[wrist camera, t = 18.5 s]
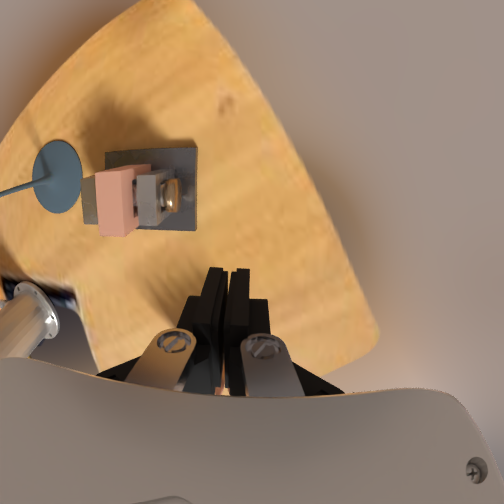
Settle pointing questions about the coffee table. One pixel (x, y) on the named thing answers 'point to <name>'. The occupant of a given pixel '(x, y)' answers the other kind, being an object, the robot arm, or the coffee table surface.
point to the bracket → (152, 187)
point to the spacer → (117, 199)
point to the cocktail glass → (54, 177)
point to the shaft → (166, 194)
